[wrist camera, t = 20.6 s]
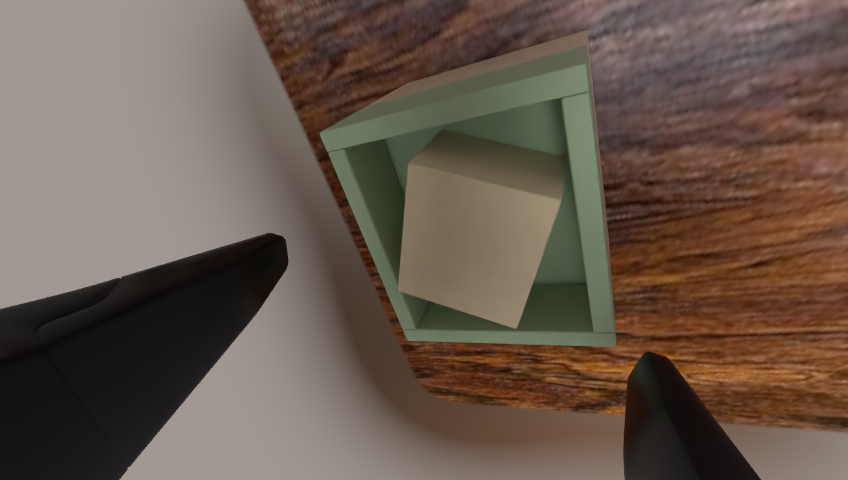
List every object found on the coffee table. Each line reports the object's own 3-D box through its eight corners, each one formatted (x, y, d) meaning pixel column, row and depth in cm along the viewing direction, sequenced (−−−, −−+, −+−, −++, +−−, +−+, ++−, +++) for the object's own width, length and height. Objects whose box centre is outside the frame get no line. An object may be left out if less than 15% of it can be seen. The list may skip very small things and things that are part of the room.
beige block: (528, 273, 14) (516, 330, 12) (426, 243, 15) (397, 291, 13) (567, 156, 12) (561, 200, 9) (441, 128, 13) (407, 163, 10)
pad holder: (406, 82, 17) (318, 133, 11) (587, 29, 14) (586, 62, 8) (455, 244, 20) (406, 341, 15) (608, 230, 17) (616, 347, 12)
